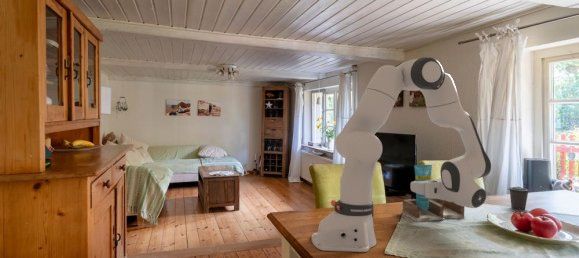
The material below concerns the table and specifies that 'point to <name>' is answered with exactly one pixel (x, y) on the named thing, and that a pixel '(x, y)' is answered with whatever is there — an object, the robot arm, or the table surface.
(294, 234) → the table surface
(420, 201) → the tube
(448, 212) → the endcap
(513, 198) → the coffee cup
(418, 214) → the brown wooden open box
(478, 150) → the robot arm
